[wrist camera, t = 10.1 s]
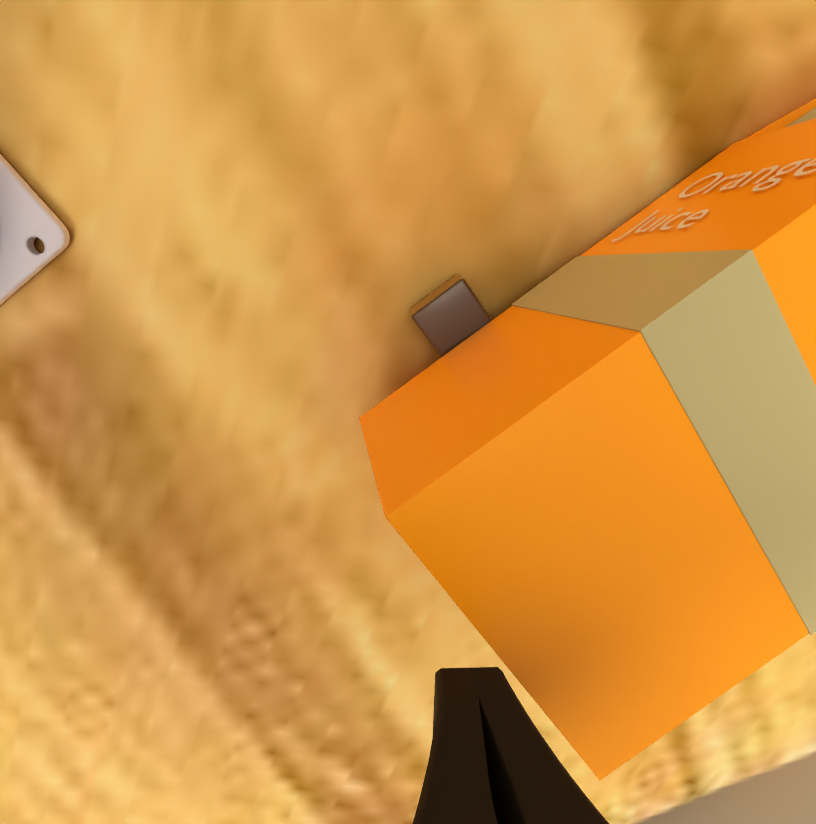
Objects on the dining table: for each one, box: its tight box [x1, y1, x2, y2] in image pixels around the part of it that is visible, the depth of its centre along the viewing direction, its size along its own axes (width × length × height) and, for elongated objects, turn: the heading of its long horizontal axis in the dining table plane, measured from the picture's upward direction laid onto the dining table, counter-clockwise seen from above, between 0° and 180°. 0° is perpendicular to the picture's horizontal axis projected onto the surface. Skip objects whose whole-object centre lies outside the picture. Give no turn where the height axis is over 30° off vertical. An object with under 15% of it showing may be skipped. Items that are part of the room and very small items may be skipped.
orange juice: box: [359, 98, 816, 780], centre depth 15 cm, size 8×9×20 cm
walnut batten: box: [410, 275, 492, 357], centre depth 20 cm, size 2×12×2 cm, turn 36°
